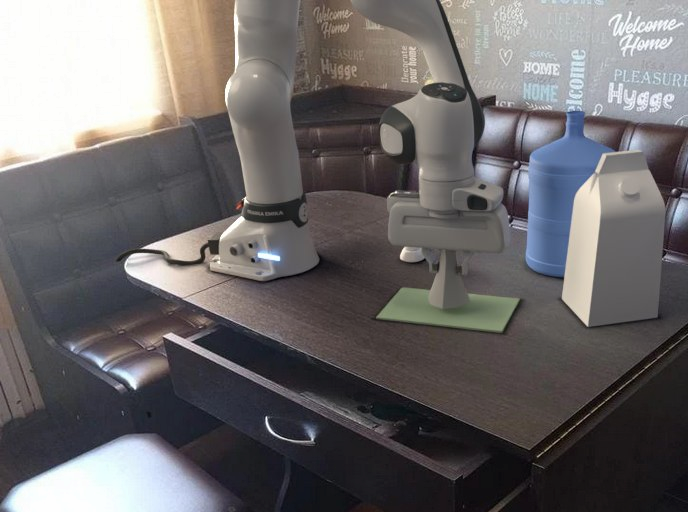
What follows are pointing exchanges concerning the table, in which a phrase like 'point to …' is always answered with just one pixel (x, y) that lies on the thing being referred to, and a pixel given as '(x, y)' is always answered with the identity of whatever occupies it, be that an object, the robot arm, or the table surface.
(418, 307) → the placemat
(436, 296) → the flask
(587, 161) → the water jug
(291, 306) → the table surface
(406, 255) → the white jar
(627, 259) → the milk
